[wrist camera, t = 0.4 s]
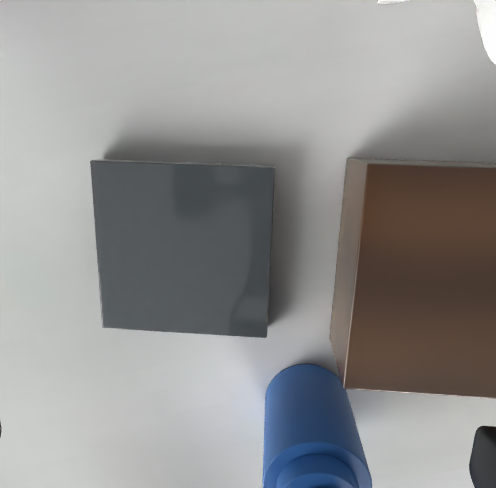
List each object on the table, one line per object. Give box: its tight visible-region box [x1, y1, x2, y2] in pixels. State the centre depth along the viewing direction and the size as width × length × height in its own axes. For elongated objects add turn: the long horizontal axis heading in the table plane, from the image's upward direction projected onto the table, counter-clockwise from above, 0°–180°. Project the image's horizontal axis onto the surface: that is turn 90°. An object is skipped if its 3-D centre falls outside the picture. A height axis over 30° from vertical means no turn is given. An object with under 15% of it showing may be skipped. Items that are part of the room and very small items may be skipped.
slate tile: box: [90, 159, 275, 338], centre depth 20 cm, size 9×9×1 cm
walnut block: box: [330, 158, 496, 399], centre depth 18 cm, size 10×10×4 cm
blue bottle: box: [263, 364, 372, 488], centre depth 18 cm, size 5×5×9 cm
